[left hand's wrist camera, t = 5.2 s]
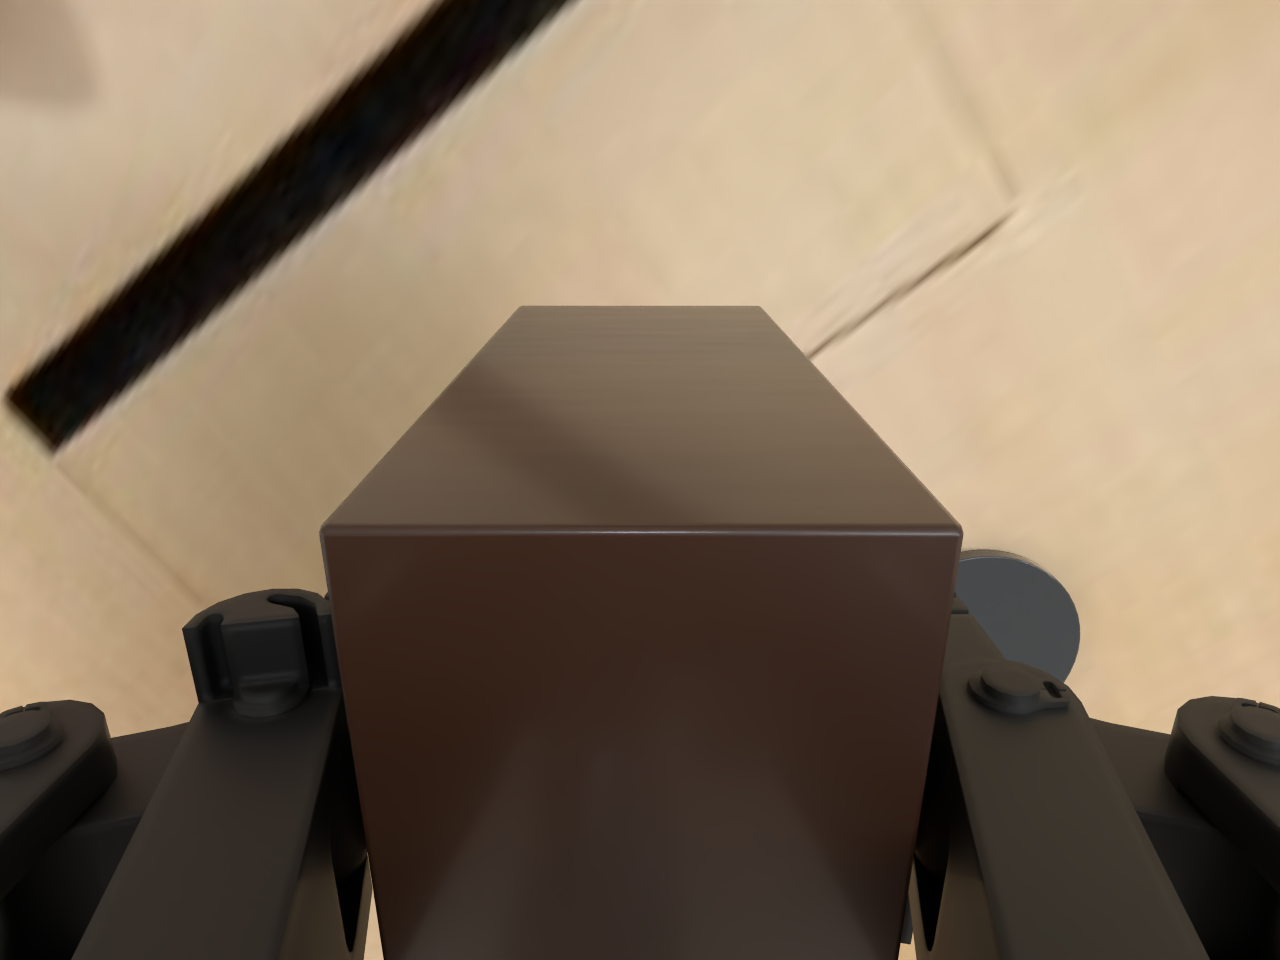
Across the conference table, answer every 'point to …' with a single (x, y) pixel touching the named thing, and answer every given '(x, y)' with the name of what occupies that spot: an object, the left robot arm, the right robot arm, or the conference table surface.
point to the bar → (641, 650)
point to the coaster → (1020, 609)
